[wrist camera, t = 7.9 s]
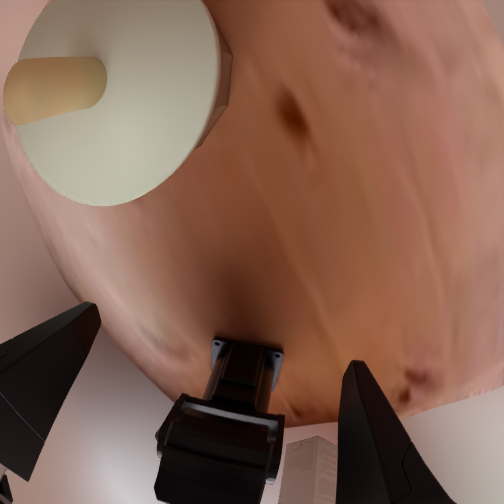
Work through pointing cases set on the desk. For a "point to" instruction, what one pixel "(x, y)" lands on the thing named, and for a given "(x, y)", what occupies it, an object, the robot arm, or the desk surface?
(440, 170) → the desk surface
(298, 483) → the small box
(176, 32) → the lid
